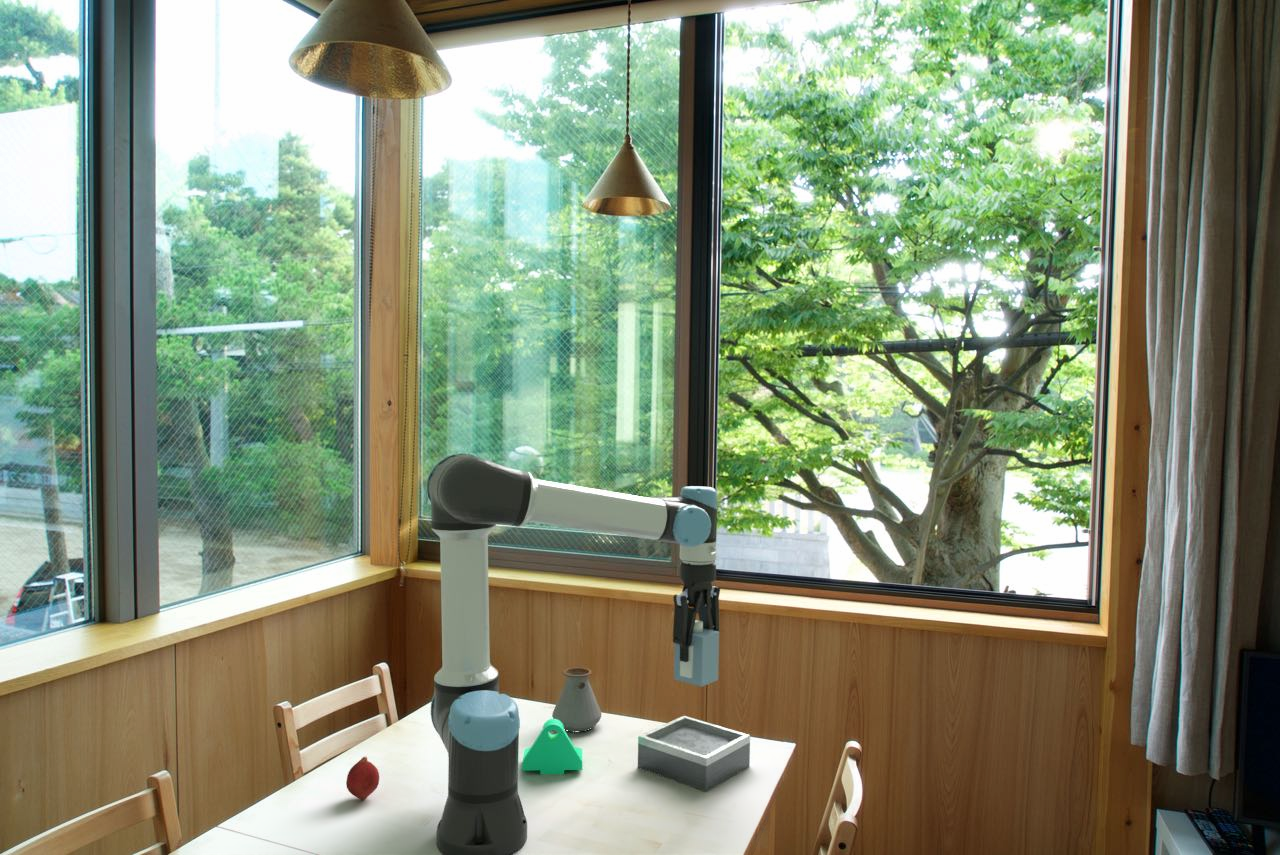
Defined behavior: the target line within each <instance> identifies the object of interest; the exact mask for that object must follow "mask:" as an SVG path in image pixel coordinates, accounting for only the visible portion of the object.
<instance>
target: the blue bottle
mask: <svg viewBox="0 0 1280 855" xmlns="http://www.w3.org/2000/svg"><path fill="white" fill-rule="evenodd" d="M673 645H674V646H673V648H674V652H673V653H674V655H673V680H675V681H679V682H682V683H687V684H690V685H694V686H697V687H701V688H702V687H704V686H707V685H709V684H711V683H714V682H716V681H718V680H719V665H720V664H719V662H720V659H719V657H720V656H719V655H720V653H719V652H720V631H719V632H718V631H713V630H709V629H704V628H703V621H699V619H697V620H696V619H695V625H694V630H693V635H692V640H691V645H692V646H693V678H687V677H683V676H680V645H679V644H676V643H673Z"/></svg>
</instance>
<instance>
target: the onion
mask: <svg viewBox="0 0 1280 855" xmlns="http://www.w3.org/2000/svg"><path fill="white" fill-rule="evenodd" d="M379 782H380V772H379V770H378V768H377V767H376V766H375V765H374V764H373V763H372V762H370V761H368V757H367V756H362V757H361V759H360V760H359V761H357V762H356V763H355V764H354V765H353V766H352V767H351V768H350V769H349V771H348V774H347V776H346V780H345V784H346V788H347V791H348V792H349V793H350V794H351V795H352V796H354V797H356V798H357V799H359V800H362V801H364V800H366V799H367V798H369V796H370V795H372V793H374V791H376V790H377V788H378V786H379Z"/></svg>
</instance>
